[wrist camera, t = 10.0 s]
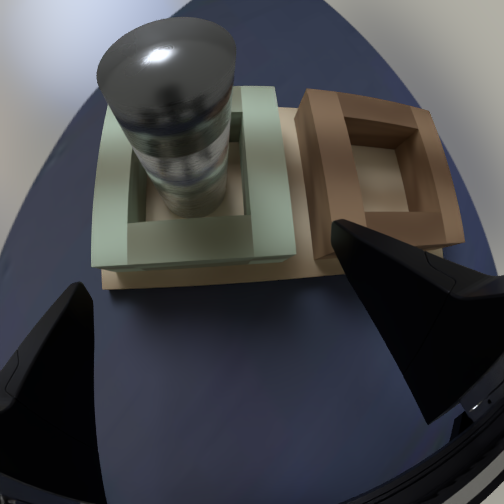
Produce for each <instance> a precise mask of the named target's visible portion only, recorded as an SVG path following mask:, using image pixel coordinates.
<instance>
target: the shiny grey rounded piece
mask: <svg viewBox="0 0 504 504" xmlns="http://www.w3.org/2000/svg"><path fill="white" fill-rule="evenodd" d="M235 59H236V45H235V42H234V40H233V37H232V36H231V35H230V34H229V32H227V31H226V30H225V29H224V28H222V27H221V26H219V25H217V24H215V23H213V22H210V21H208V20H204V19H199V18H192V17H175V18H167V19H161V20H158V21H154V22H151V23H147V24H145V25H142V26H140V27H138V28H136V29H134V30H132V31H130V32H128V33H127V34H125V35H124V36H122V37H121V38H120V39H118V40H117V41H116V42H115V43H114V44H113V45H112V46H111V47H110V48H109V49H108V50H107V51H106V53H105V54H104V55H103V57H102V59H101V61H100V63H99V65H98V69H97V83H98V86H99V88H100V90H101V92H102V94H103V96H104V97H105V99H106V101H107V103H108V105H109V107H110V109H111V111H112V112H113V114H114V116H115V118H116V120H117V122H118V123H119V125H120V127H121V129H122V131H123V132H124V134H125V136H126V138H127V140H128V141H129V143H130V145H131V147H132V148H133V150H134V152H135V154H136V155H137V157H138V159H139V160H140V162H141V164H142V166H143V167H144V169H145V171H146V172H147V174H148V176H149V178H150V179H151V181H152V183H153V184H154V186H155V188H156V189H157V191H158V193H159V194H160V196H161V197H162V199H163V201H164V202H165V204H166V206H167V207H168V208H169V209H170V210H171V211H172V212H173V213H174V214H176V215H178V216H180V217H183V218H188V219H189V218H202V217H205V216H207V215H209V214H211V213H212V212H214V211H215V210H216V209H217V208H218V207H219V206H220V204H221V203H222V201H223V199H224V197H225V193H226V182H227V165H228V149H229V134H230V120H231V107H232V94H233V82H234V70H235Z"/></svg>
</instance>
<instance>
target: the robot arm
mask: <svg viewBox="0 0 504 504" xmlns="http://www.w3.org/2000/svg"><path fill="white" fill-rule="evenodd" d="M331 246H332V248H333V250H334V252H335V254H336V256H337V258H338V260H339V262H340V264H341V266H342V268H343V271H344V273H345V275H346V277H347V279H348V280H349V282H350V284H351V285H352V287H353V289H354V290H355V292H356V294H357V295H358V297H359V299H360V300H361V302H362V304H363V305H364V307H365V309H366V310H367V312H368V314H369V315H370V317H371V319H372V320H373V322H374V324H375V326H376V327H377V329H378V331H379V333H380V334H381V336H382V338H383V340H384V341H385V343H386V345H387V347H388V349H389V350H390V352H391V354H392V356H393V358H394V360H395V361H396V363H397V365H398V367H399V369H400V371H401V373H402V375H403V377H404V379H405V381H406V383H407V385H408V386H409V388H410V390H411V392H412V394H413V396H414V398H415V400H416V402H417V404H418V406H419V408H420V411H421V413H422V415H423V417H424V419H425V421H426V423H427V424H428V425H429V424H431V423H432V422H434V421H435V420H437V419H438V418H440V417H441V416H442V415H444V414H445V413H447V412H448V411H449V410H451V409H452V408H453V407H455V406H456V405H457V404H459V403H460V404H461V405H462V407H463V408H464V410H465V411H464V412H463V413H462V414H460V415H459V416H458V417H457V418H455V419H454V424H453V429H452V433H451V437H450V441H449V443H447V444H446V445H445V446H443V447H442V448H441V449H439V450H438V451H436V452H435V453H433V454H432V455H430V456H429V457H427V458H426V459H424V460H423V461H421V462H420V463H418V464H416V465H415V466H413V467H412V468H410V469H408V470H407V471H405V472H403V473H401V474H400V475H398V476H396V477H394V478H392V479H391V480H389V481H387V482H385V483H383V484H381V485H379V486H377V487H375V488H373V489H371V490H369V491H367V492H365V493H362V494H360V495H358V496H356V497H353V498H351V499H349V500H346V501H344V502H341V503H339V504H480V503H481V502H482V501H483V500H485V499H486V498H487V497H488V496H489V495H490V494H491V493H492V492H493V491H494V490H495V489H496V488H497V487H498V486H499V485H500V484H501V483H502V482H503V481H504V275H502V276H490V275H486V274H483V273H480V272H478V271H475V270H472V269H470V268H467V267H464V266H462V265H459V264H456V263H454V262H451V261H449V260H446V259H444V258H441V257H439V256H436V255H434V254H432V253H429V252H427V251H424V250H422V249H420V248H417V247H415V246H413V245H410V244H408V243H405V242H403V241H400V240H398V239H395V238H393V237H390V236H388V235H385V234H383V233H380V232H378V231H375V230H372V229H370V228H367V227H364V226H362V225H359V224H356V223H354V222H351V221H348V220H346V219H338V220H334V221H333V222H332V224H331ZM80 503H84V504H107V501H106V496H105V491H104V486H103V480H102V474H101V468H100V461H99V453H98V446H97V436H96V424H95V407H94V312H93V300H92V298H91V296H90V294H89V293H88V291H87V289H86V288H85V286H84V284H83V283H82V282H76V283H72V284H71V285H70V286H69V287H68V288H67V289H66V290H65V291H64V292H63V293H62V294H61V296H60V297H59V298H58V299H57V300H56V301H55V303H54V304H53V305H52V306H51V307H50V308H49V310H48V311H47V312H46V313H45V314H44V315H43V317H42V318H41V319H40V320H39V322H38V323H37V324H36V325H35V327H34V328H33V329H32V330H31V332H30V333H29V334H28V335H27V337H26V338H25V339H24V341H23V342H22V343H21V345H20V346H19V347H18V350H16V351H15V353H14V354H13V355H12V357H11V358H10V359H9V361H8V362H7V363H6V365H5V366H4V367H3V369H2V370H1V371H0V504H80Z"/></svg>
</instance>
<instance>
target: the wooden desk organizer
mask: <svg viewBox="0 0 504 504" xmlns="http://www.w3.org/2000/svg"><path fill="white" fill-rule="evenodd" d="M338 219H346V220H348V221H351V222H354V223H356V224H359V225H362V226H364V227H367V228H370V229H372V230H375V231H378V232H380V233H383V234H385V235H388V236H390V237H393V238H395V239H398V240H400V241H403V242H405V243H408V244H410V245H413V246H415V247H417V248H420V249H422V250H424V251H427V252H429V253H432V254H434V255H436V256H439V257H441V258H443V252H442V248H444V247H448V246H452V245H456V244H460V243H464V242H465V239H464V233H463V227H462V221H461V216H460V211H459V206H458V202H457V197H456V193H455V189H454V185H453V181H452V177H451V174H450V170H449V167H448V163H447V160H446V157H445V153H444V150H443V147H442V144H441V141H440V138H439V136H438V133H437V130H436V127H435V125H434V122H433V120H432V117H431V114H430V112H429V111H427V110H423V109H420V108H416V107H412V106H408V105H404V104H400V103H396V102H391V101H387V100H382V99H377V98H371V97H366V96H360V95H354V94H348V93H341V92H333V91H325V90H315V89H306V91H305V93H304V96H303V98H302V101H301V103H300V105H299V108H279V107H278V106H277V100H276V94H275V88H274V87H271V86H233V94H232V107H231V120H230V134H229V149H228V165H227V182H226V193H225V197H224V199H223V201H222V203H221V204H220V206H219V207H218V208H217V209H216V210H215V211H214V212H212V213H211V214H209V215H207V216H205V217H202V218H189V219H188V218H183V217H180V216H178V215H176V214H174V213H173V212H172V211H171V210H170V209H169V208H168V207H167V206H166V204H165V202H164V201H163V199H162V197H161V196H160V194H159V193H158V191H157V189H156V188H155V186H154V184H153V183H152V181H151V179H150V178H149V176H148V174H147V172H146V171H145V169H144V167H143V166H142V164H141V162H140V160H139V159H138V157H137V155H136V154H135V152H134V150H133V148H132V147H131V145H130V143H129V141H128V140H127V138H126V136H125V134H124V132H123V131H122V129H121V127H120V125H119V123H118V122H117V120H116V118H115V116H114V114H113V112H112V111H111V109H110V107H109V105H108V107H107V112H106V117H105V122H104V127H103V132H102V138H101V144H100V150H99V157H98V164H97V172H96V180H95V190H94V202H93V217H92V242H91V267H94V268H99V269H102V289H104V290H115V289H141V288H163V287H183V286H200V285H217V284H232V283H246V282H260V281H272V280H285V279H297V278H308V277H319V276H330V275H340V274H345V273H344V271H343V268H342V266H341V264H340V262H339V260H338V258H337V256H336V254H335V252H334V250H333V248H332V246H331V224H332V222H333V221H334V220H338Z"/></svg>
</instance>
